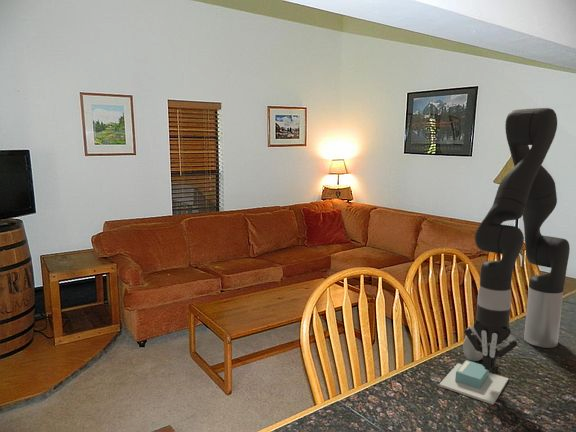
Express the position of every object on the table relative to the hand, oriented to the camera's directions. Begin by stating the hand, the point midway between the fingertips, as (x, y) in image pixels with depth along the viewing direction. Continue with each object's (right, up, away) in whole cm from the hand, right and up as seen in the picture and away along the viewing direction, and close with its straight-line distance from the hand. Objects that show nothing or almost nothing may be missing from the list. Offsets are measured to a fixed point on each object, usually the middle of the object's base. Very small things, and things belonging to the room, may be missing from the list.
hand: (488, 368), depth 115 cm
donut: (+2, -3, +14) cm, 15 cm away
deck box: (-1, -3, +1) cm, 3 cm away
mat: (-3, -4, +2) cm, 6 cm away
